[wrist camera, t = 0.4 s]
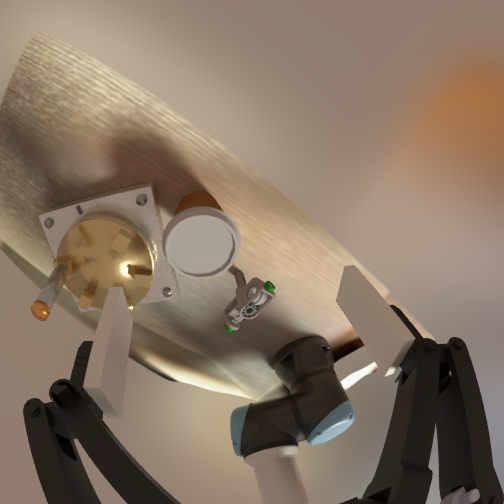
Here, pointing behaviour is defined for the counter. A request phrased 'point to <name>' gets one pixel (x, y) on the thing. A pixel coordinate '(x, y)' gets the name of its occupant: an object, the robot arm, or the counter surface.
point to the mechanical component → (247, 301)
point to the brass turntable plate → (99, 263)
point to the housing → (132, 209)
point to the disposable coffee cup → (201, 238)
